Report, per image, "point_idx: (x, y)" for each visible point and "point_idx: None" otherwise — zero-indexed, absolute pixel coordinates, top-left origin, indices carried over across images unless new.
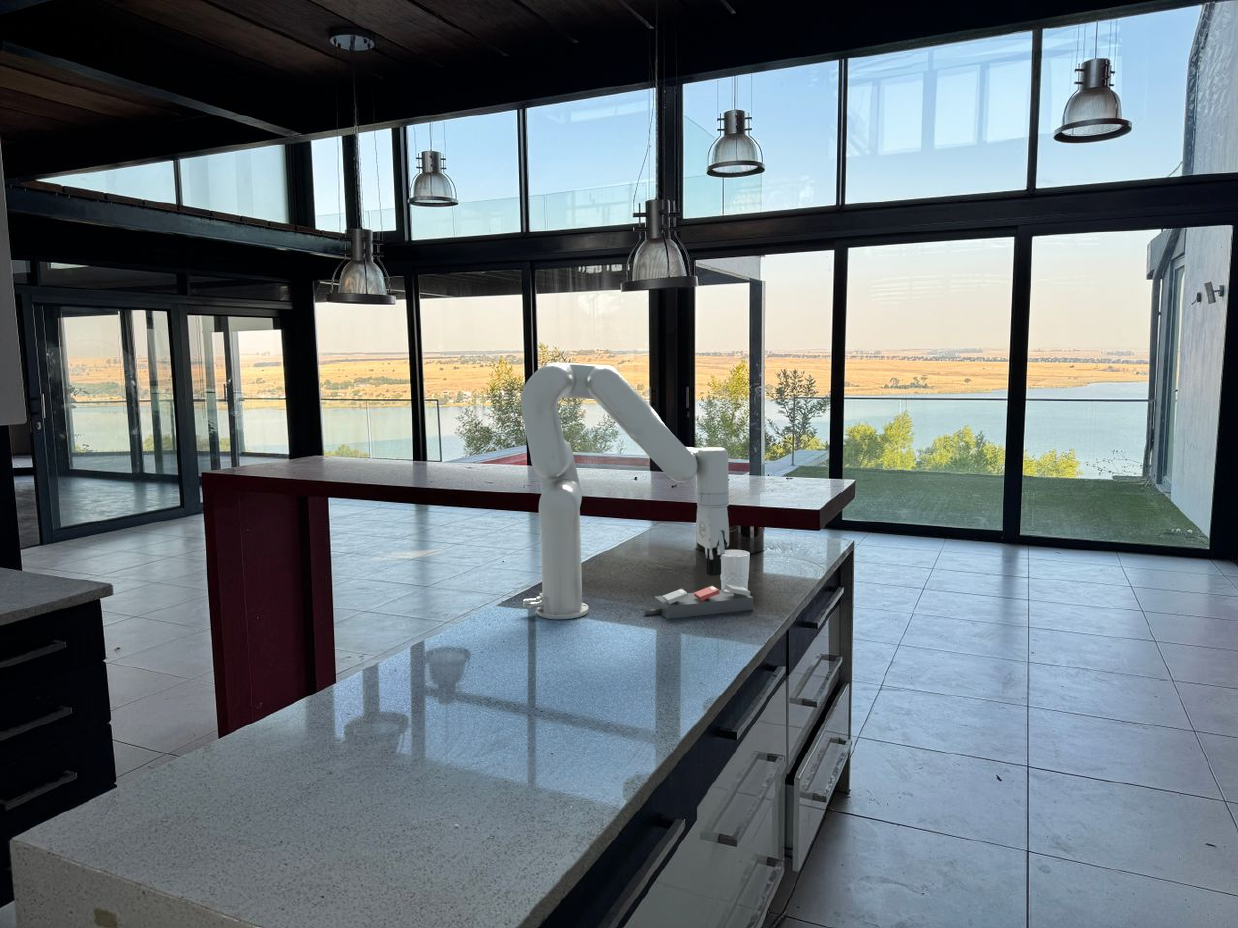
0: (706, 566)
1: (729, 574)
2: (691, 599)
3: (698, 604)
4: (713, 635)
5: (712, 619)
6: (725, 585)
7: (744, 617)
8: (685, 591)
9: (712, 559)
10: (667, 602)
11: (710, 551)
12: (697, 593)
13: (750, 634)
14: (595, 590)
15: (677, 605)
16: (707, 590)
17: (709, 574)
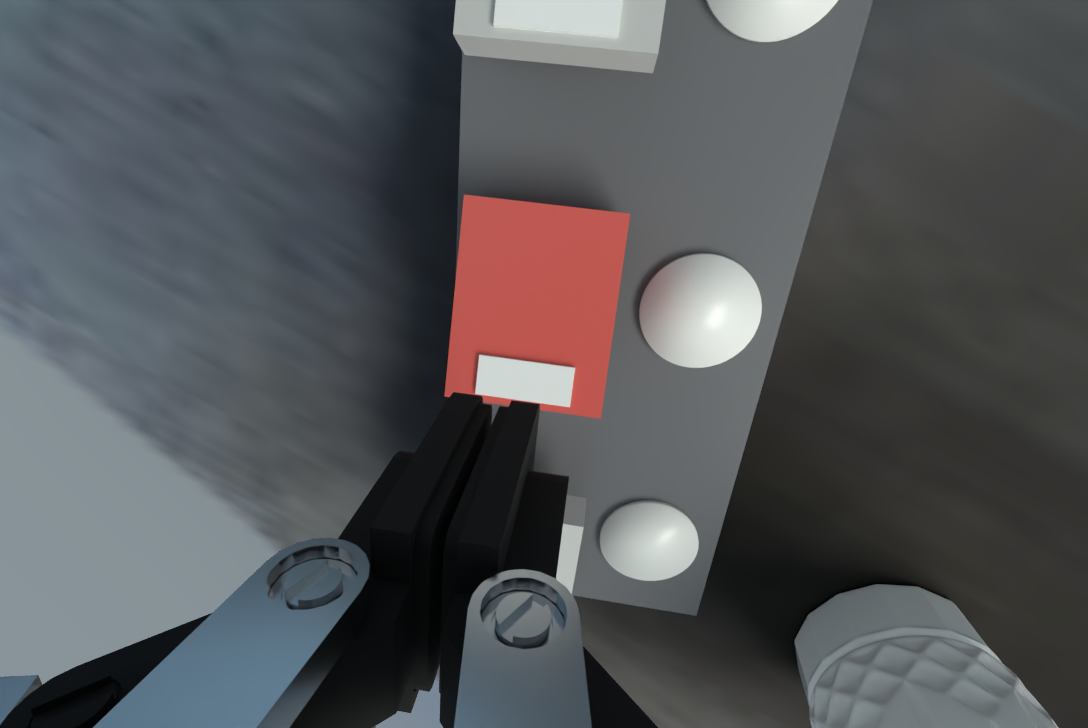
0: (517, 454)
1: (889, 710)
2: (597, 160)
3: (462, 161)
4: (23, 21)
5: (365, 204)
6: (575, 517)
7: (345, 404)
8: (518, 39)
9: (294, 566)
10: None
11: (212, 702)
12: (569, 224)
13: (33, 263)
14: None
15: None
16: (538, 325)
17: (454, 401)
